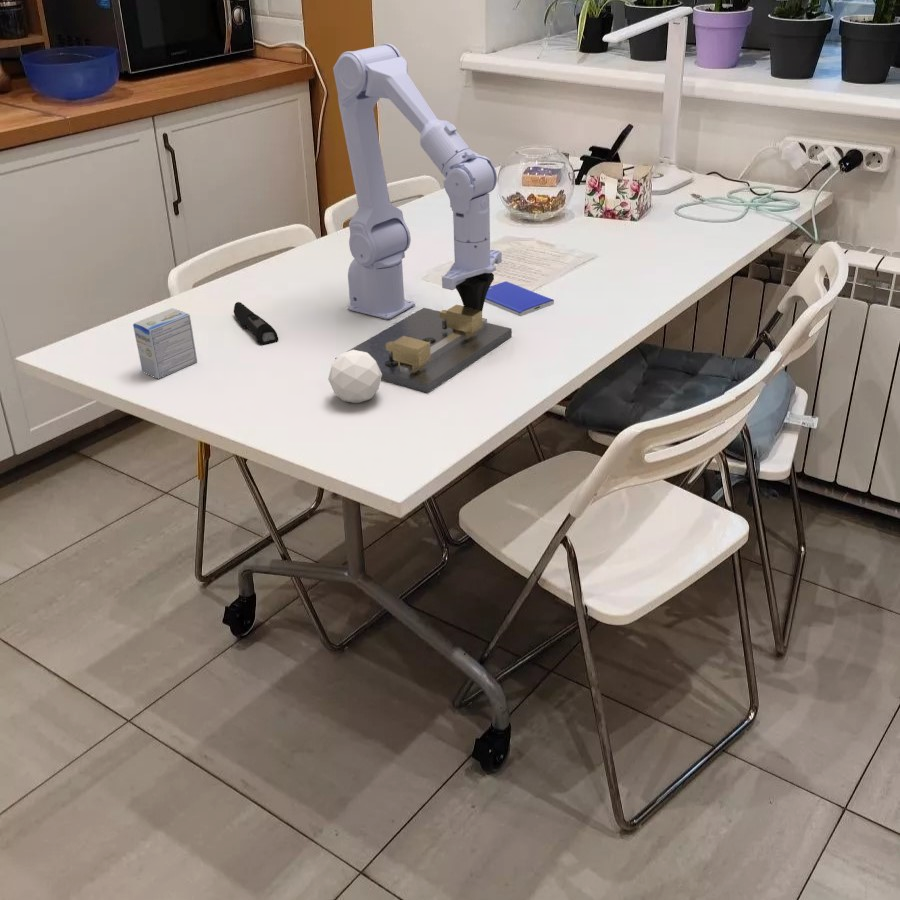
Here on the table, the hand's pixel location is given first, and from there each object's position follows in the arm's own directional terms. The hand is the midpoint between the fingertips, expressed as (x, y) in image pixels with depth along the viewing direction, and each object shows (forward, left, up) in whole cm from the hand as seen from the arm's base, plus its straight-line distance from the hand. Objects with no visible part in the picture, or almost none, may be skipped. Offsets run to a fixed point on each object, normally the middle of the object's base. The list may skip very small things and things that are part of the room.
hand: (473, 316), depth 171 cm
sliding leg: (-1, -3, -2) cm, 4 cm away
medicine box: (-36, -34, -4) cm, 50 cm away
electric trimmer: (-35, -16, -4) cm, 39 cm away
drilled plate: (-4, -8, -4) cm, 10 cm away
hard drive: (-3, +18, -5) cm, 18 cm away
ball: (-3, -27, -4) cm, 28 cm away
